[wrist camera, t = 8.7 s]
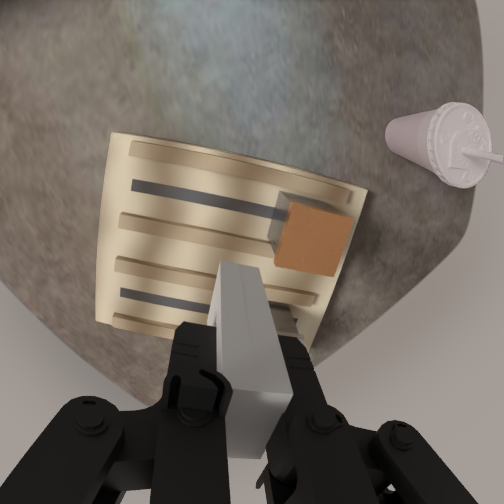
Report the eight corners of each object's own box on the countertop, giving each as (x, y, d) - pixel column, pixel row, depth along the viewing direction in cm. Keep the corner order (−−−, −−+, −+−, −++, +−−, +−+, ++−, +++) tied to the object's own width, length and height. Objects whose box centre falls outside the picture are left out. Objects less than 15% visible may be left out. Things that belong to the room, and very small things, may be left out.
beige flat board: (101, 310, 31) (93, 325, 28) (119, 131, 24) (108, 132, 22) (302, 345, 34) (308, 361, 32) (358, 185, 28) (371, 192, 26)
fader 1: (234, 334, 30) (237, 374, 25) (244, 295, 29) (250, 333, 23) (277, 340, 31) (288, 380, 26) (290, 302, 30) (305, 340, 24)
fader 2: (264, 238, 27) (275, 266, 22) (277, 187, 26) (293, 203, 20) (312, 248, 28) (333, 277, 22) (327, 200, 26) (353, 219, 21)
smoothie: (359, 132, 26) (461, 144, 14) (401, 91, 25) (509, 84, 12) (398, 182, 29) (500, 225, 16) (436, 141, 27) (542, 163, 14)
